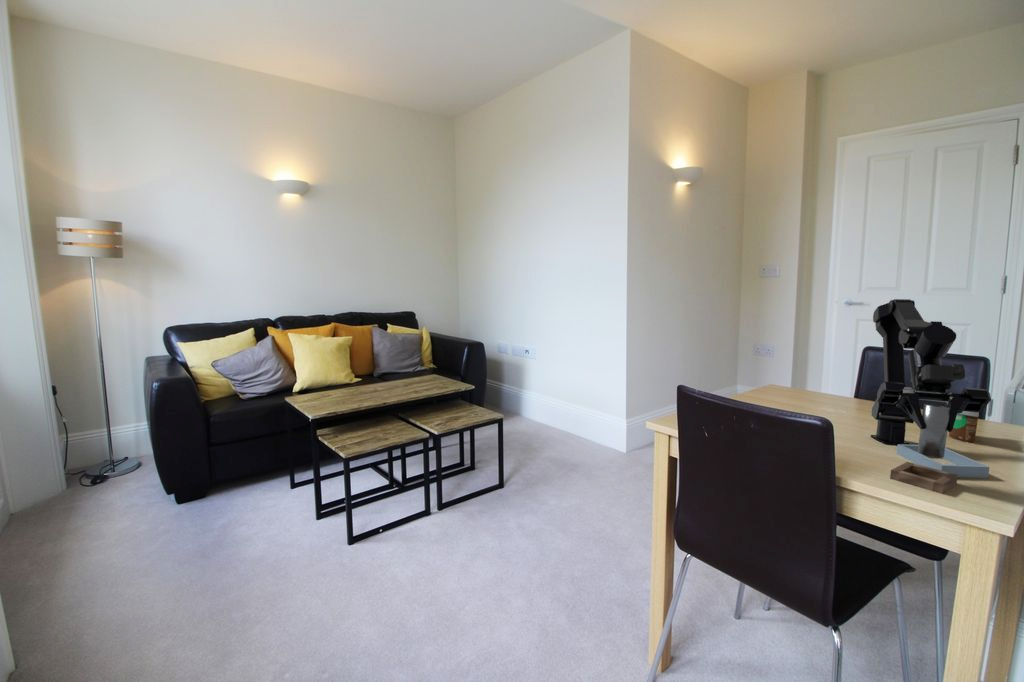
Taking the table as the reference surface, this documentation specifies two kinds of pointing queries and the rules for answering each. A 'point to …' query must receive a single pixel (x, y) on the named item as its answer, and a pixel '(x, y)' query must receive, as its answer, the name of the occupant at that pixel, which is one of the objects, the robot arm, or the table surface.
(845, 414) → the table surface
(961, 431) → the food container
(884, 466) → the table surface
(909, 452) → the tray
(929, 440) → the metallic grey cylinder
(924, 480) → the socket block
